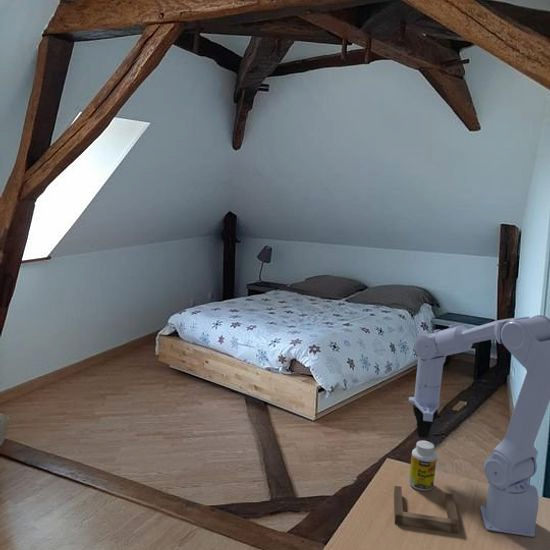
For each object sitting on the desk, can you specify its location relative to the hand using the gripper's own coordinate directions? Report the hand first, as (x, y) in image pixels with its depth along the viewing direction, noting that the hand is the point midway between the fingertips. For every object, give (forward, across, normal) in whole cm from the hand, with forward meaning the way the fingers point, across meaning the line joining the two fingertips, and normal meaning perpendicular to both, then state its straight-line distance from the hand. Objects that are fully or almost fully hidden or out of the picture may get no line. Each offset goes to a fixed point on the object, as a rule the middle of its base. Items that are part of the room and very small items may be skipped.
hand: (422, 436), depth 137 cm
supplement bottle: (+9, +7, 0) cm, 11 cm away
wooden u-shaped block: (+9, +17, 0) cm, 19 cm away
